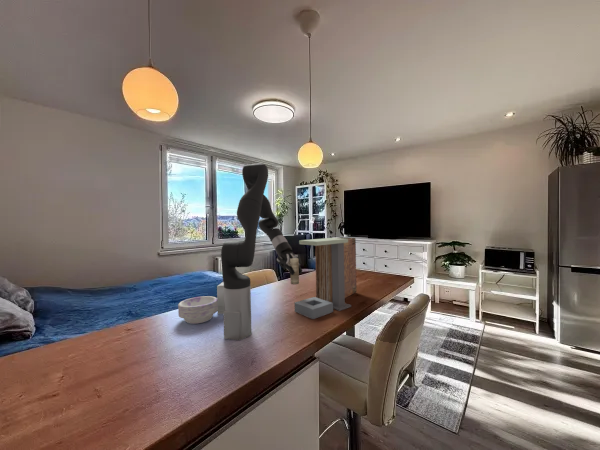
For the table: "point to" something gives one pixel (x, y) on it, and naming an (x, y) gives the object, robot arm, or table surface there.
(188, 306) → the paper bowls
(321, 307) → the socket
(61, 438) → the table surface
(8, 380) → the table surface
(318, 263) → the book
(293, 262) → the peg
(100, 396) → the table surface
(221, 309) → the supplement box
